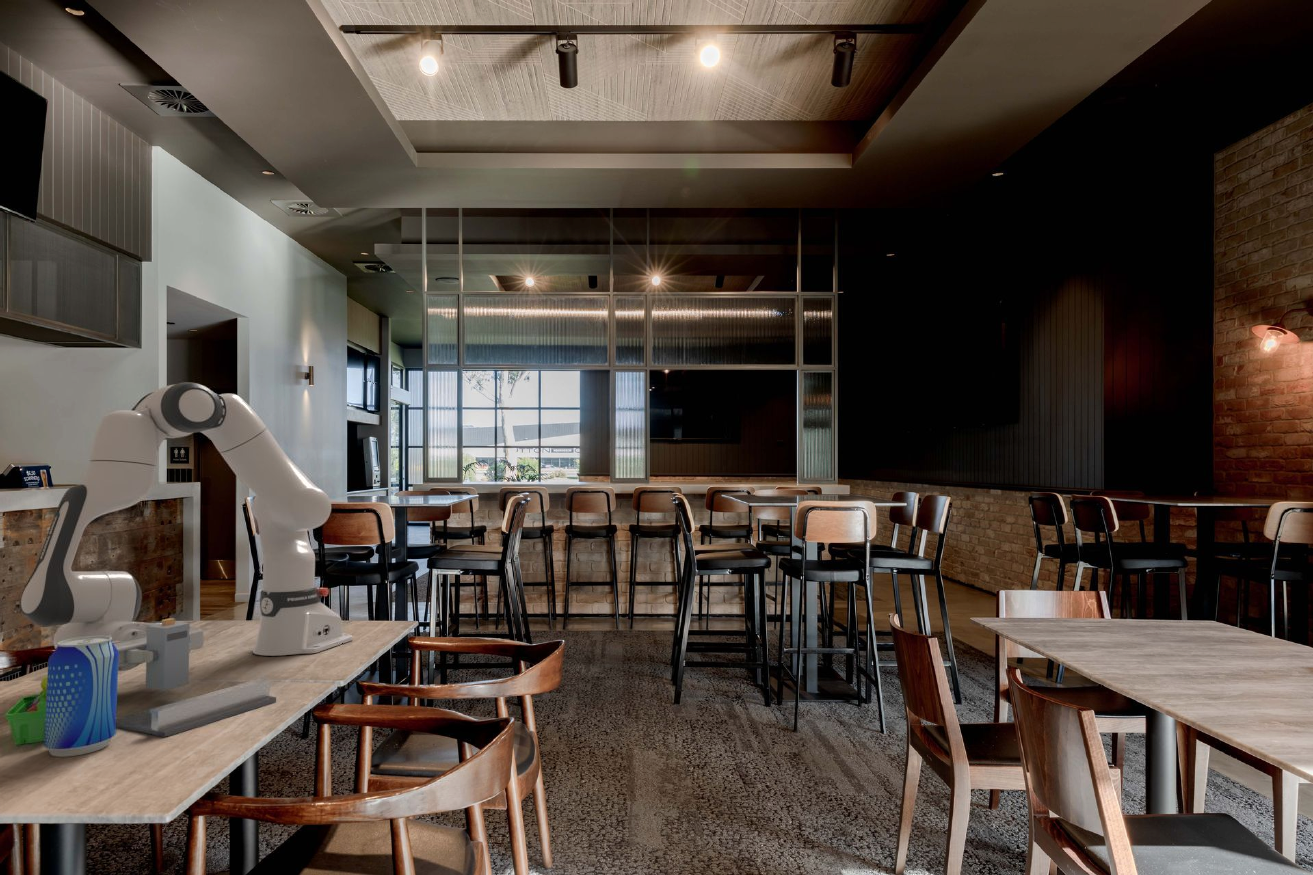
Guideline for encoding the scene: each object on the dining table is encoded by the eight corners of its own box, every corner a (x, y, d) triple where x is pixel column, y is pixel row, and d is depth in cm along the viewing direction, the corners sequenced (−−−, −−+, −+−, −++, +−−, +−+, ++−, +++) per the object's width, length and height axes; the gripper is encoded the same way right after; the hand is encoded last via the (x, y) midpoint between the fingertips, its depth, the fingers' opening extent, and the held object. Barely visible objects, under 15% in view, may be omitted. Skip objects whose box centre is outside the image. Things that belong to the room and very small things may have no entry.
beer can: (128, 741, 113) (132, 636, 114) (69, 761, 105) (74, 648, 106) (90, 735, 116) (94, 632, 117) (29, 754, 108) (35, 643, 109)
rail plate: (223, 692, 139) (223, 672, 139) (276, 701, 133) (276, 680, 133) (108, 725, 120) (109, 701, 121) (164, 737, 115) (165, 712, 115)
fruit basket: (21, 727, 120) (25, 657, 120) (89, 718, 124) (92, 650, 125) (1, 749, 110) (5, 673, 110) (76, 739, 114) (79, 665, 115)
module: (170, 680, 137) (171, 615, 138) (188, 683, 135) (189, 617, 136) (145, 687, 133) (146, 620, 133) (164, 690, 131) (165, 622, 131)
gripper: (61, 641, 130) (109, 648, 125) (176, 618, 149) (223, 623, 143) (60, 677, 130) (109, 685, 124) (175, 650, 149) (222, 656, 143)
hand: (171, 652), depth 134 cm, fingers closed on module, 4 cm apart
